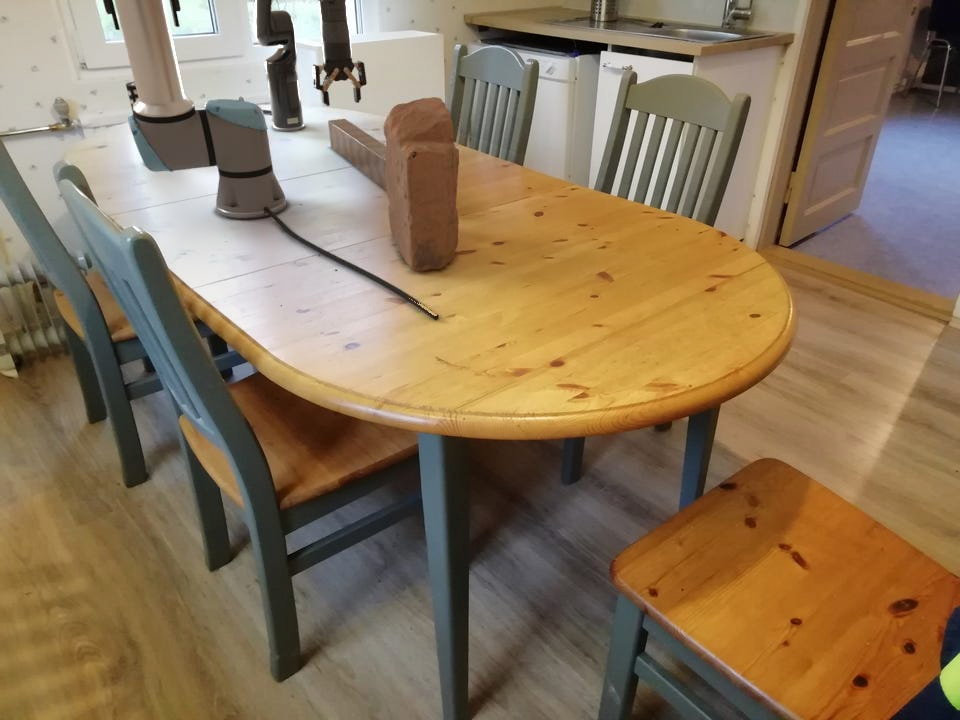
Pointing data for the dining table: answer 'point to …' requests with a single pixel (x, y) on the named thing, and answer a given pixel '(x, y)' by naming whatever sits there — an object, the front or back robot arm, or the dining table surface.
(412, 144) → the stone
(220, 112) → the front robot arm
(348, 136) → the beam
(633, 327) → the dining table surface
